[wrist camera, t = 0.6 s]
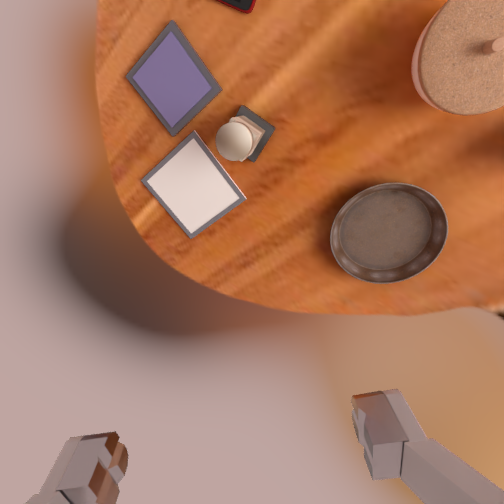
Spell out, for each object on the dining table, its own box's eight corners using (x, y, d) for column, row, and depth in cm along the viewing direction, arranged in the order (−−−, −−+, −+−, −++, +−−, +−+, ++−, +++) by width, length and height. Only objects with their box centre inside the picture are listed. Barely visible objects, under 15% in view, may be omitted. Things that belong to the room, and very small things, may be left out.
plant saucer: (383, 155, 45) (388, 158, 42) (467, 223, 47) (476, 230, 44) (308, 236, 53) (308, 243, 50) (382, 291, 55) (385, 301, 53)
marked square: (195, 130, 48) (193, 130, 48) (246, 198, 52) (245, 199, 51) (142, 179, 54) (140, 180, 53) (192, 237, 58) (191, 239, 57)
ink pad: (174, 21, 42) (170, 18, 41) (222, 89, 45) (220, 89, 44) (128, 76, 46) (124, 76, 45) (174, 136, 49) (171, 136, 48)
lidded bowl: (395, 21, 37) (422, -8, 28) (513, -23, 34) (593, -73, 24) (403, 124, 42) (429, 131, 33) (507, 96, 39) (571, 93, 29)
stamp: (243, 105, 45) (224, 105, 36) (275, 128, 46) (265, 134, 36) (225, 139, 48) (202, 149, 38) (255, 160, 49) (240, 175, 39)
